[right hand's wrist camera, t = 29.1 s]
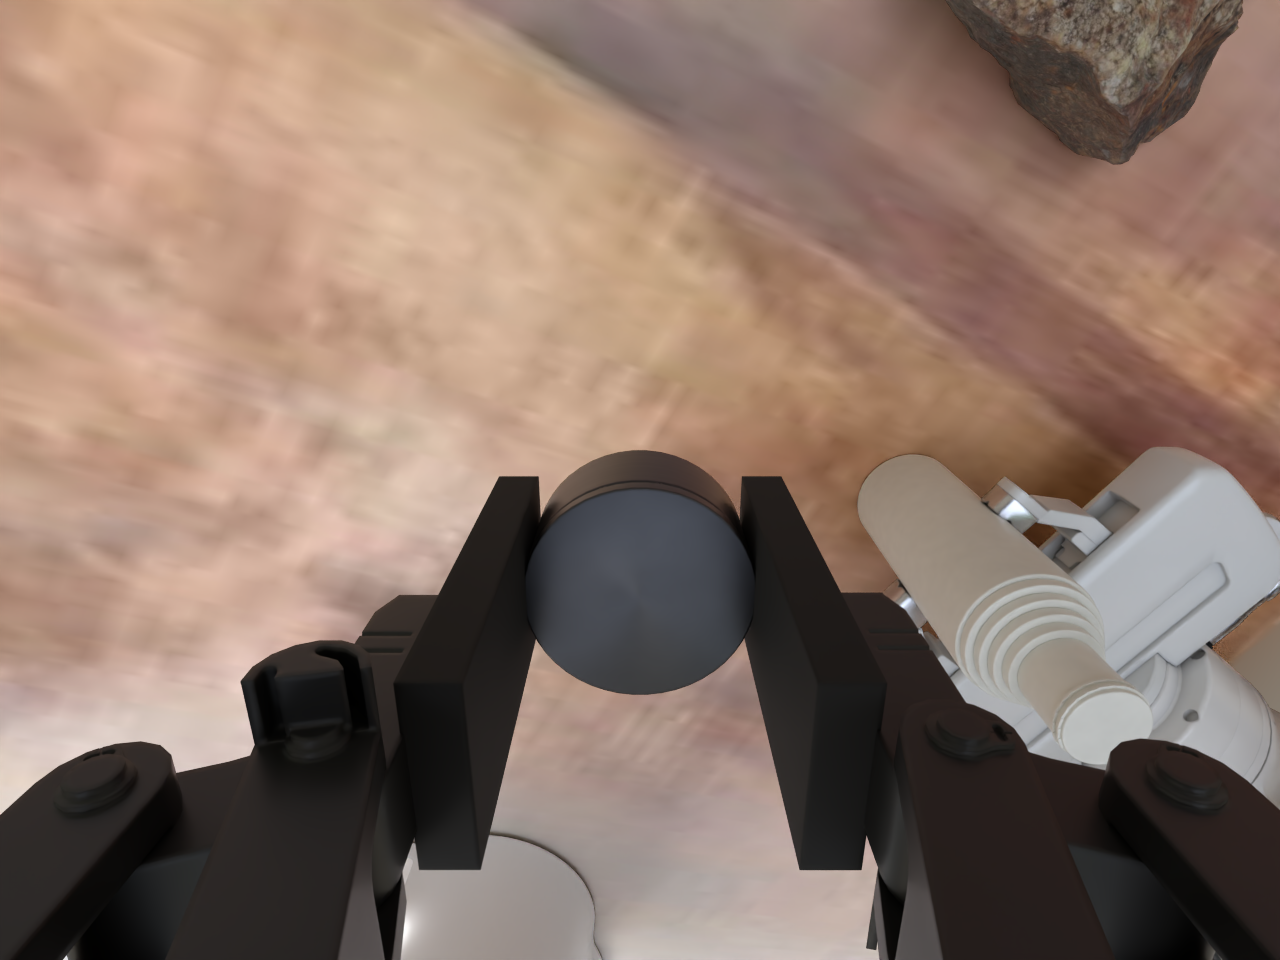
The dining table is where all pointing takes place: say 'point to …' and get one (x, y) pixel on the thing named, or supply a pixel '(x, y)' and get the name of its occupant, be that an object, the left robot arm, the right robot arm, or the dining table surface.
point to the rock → (1103, 62)
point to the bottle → (1001, 606)
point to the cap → (640, 574)
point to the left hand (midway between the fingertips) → (941, 545)
